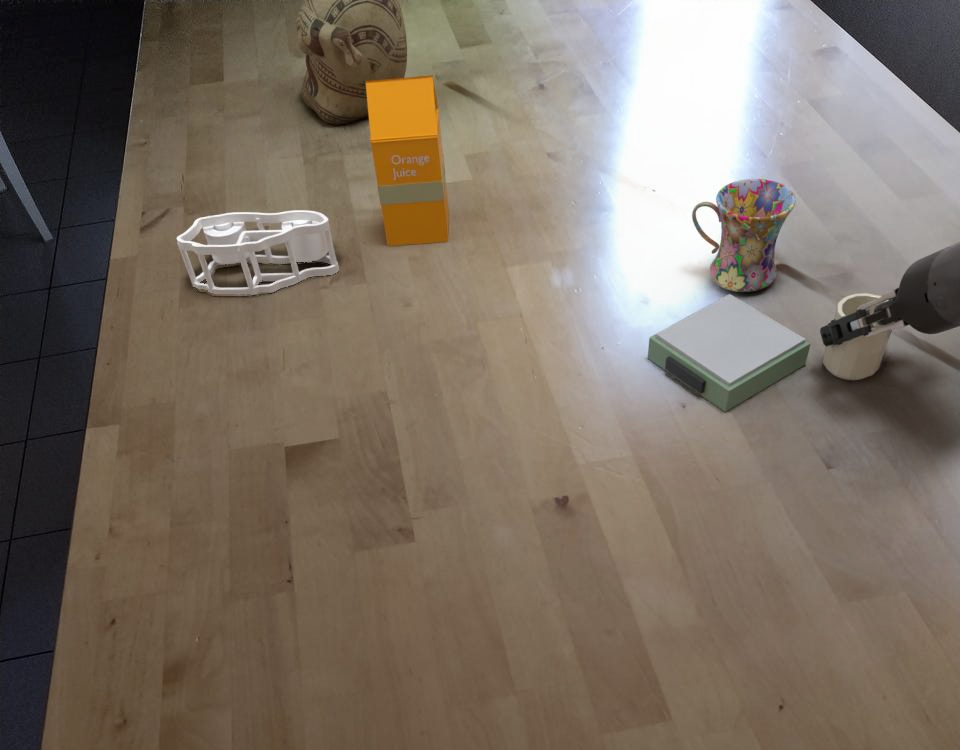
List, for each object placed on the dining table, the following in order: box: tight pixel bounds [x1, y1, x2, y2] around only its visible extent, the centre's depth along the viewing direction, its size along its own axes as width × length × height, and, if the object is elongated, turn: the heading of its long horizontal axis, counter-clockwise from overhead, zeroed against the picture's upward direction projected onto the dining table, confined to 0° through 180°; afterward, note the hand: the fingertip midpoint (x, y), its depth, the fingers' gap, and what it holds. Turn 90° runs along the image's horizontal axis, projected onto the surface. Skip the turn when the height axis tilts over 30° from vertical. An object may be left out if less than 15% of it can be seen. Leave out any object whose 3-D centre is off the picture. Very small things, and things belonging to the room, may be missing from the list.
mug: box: [691, 178, 797, 293], centre depth 112 cm, size 12×9×11 cm
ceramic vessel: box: [295, 0, 408, 126], centre depth 142 cm, size 19×21×30 cm
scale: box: [647, 293, 812, 413], centre depth 105 cm, size 14×13×4 cm
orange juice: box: [365, 74, 450, 247], centre depth 121 cm, size 8×9×20 cm
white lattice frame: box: [176, 209, 340, 295], centre depth 122 cm, size 20×11×7 cm, turn 85°
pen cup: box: [822, 292, 894, 381], centre depth 101 cm, size 6×6×8 cm
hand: (849, 326), depth 102 cm, fingers closed on pen cup, 6 cm apart
